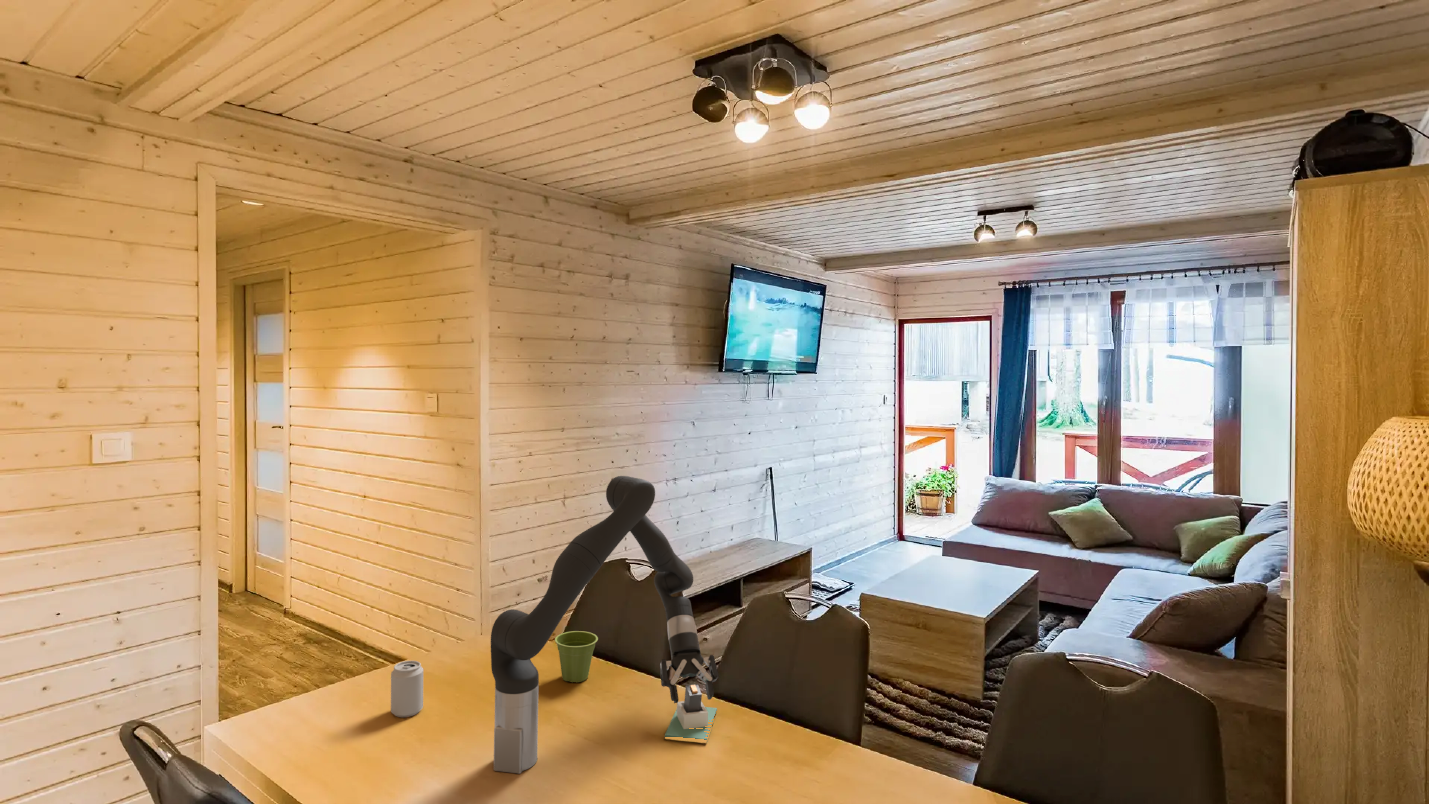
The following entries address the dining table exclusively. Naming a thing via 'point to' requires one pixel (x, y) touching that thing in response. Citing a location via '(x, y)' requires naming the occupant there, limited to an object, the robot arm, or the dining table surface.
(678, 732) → the green board
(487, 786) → the dining table surface
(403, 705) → the can
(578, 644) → the plant pot
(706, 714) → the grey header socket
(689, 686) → the dark grey rectangular block
